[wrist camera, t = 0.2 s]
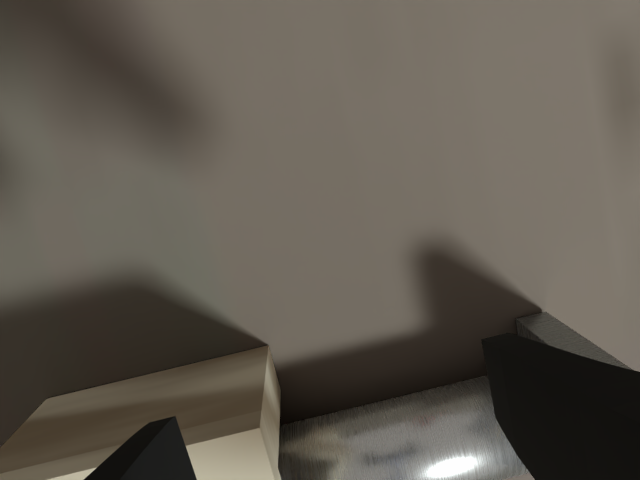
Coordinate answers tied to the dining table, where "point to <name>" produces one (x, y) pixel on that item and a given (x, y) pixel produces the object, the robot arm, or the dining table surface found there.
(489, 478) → the silver metal piece
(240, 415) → the block
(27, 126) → the dining table surface
